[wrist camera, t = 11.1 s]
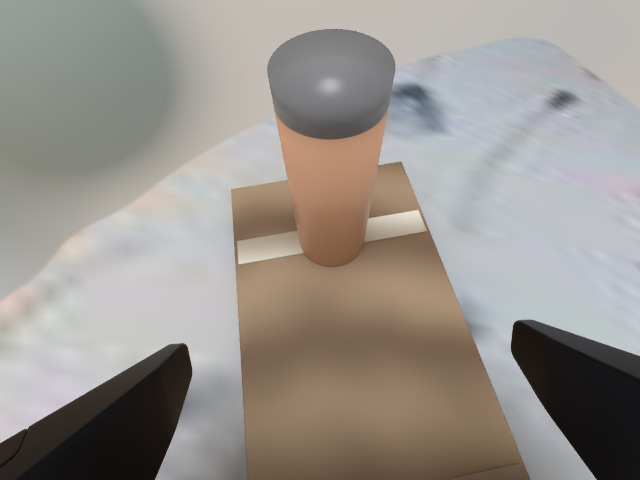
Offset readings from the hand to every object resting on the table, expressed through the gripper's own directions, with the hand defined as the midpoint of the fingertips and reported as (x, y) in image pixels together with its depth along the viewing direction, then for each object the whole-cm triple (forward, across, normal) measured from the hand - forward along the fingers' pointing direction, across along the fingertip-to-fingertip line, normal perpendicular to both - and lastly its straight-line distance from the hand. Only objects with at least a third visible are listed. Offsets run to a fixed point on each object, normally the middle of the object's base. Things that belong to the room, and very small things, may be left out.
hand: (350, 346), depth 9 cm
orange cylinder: (+11, 0, 0) cm, 11 cm away
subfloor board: (+7, -1, +6) cm, 9 cm away
